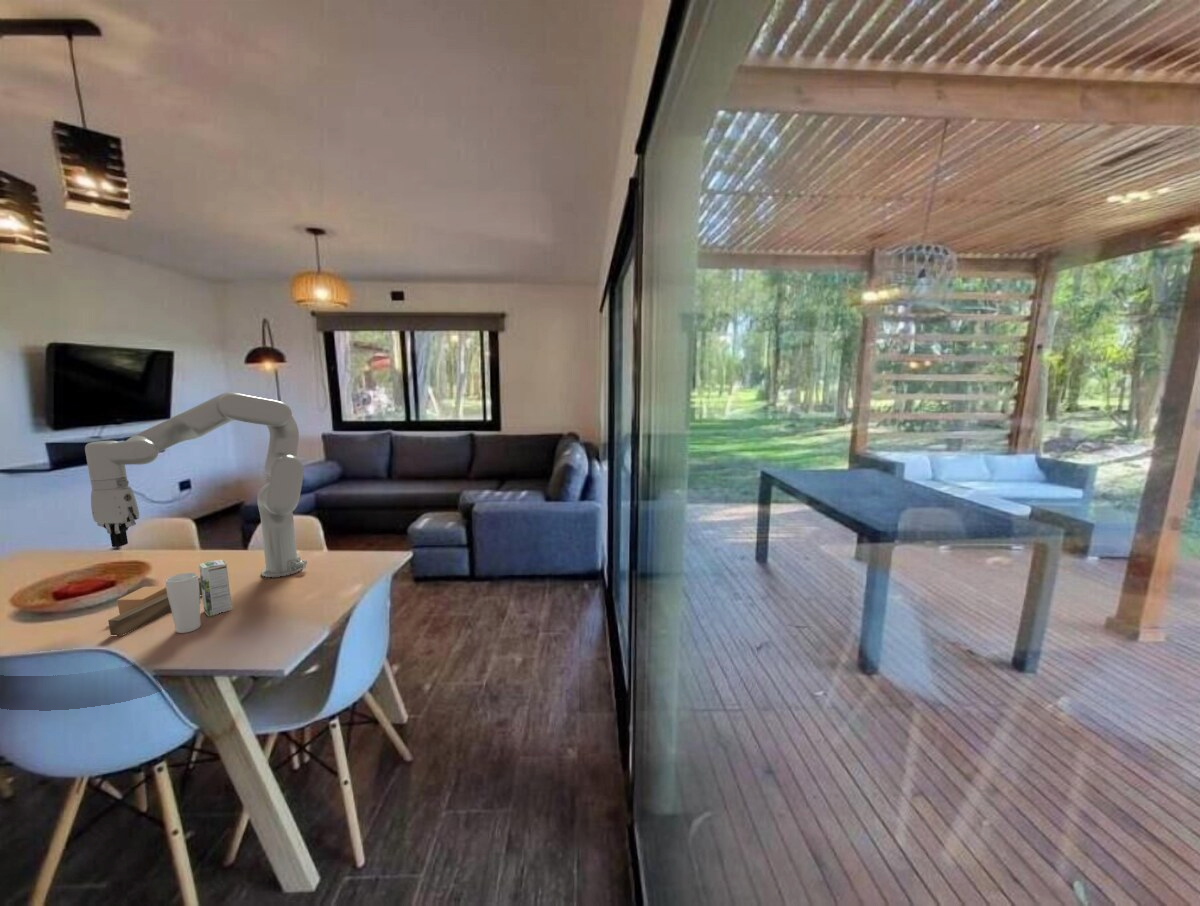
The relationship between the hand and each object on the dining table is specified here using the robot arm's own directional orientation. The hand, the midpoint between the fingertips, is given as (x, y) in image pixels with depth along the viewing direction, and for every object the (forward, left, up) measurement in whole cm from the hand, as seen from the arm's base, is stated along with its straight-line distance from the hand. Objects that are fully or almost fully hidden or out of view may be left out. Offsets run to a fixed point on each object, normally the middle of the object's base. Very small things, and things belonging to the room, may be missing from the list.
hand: (120, 545), depth 148 cm
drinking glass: (-29, +11, -20) cm, 36 cm away
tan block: (-7, +2, -20) cm, 21 cm away
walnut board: (-13, +2, -19) cm, 23 cm away
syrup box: (-28, 0, -20) cm, 34 cm away
